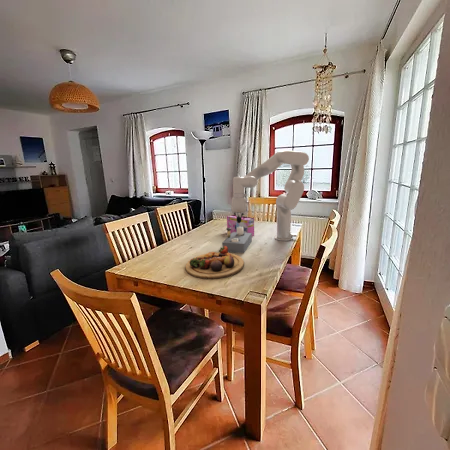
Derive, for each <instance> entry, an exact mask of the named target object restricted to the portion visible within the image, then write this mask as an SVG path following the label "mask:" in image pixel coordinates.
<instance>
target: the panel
mask: <svg viewBox="0 0 450 450" xmlns="http://www.w3.org/2000/svg"><path fill="white" fill-rule="evenodd" d="M230 234H231V237H229V238H228V236H227V237H226V238H225V239H224V240H223V241H222V242H221V244H222V246H221V248H223V246H227V248H228V253H237V254H245V253H246V251H247V249H248V248H249V246H250V245H251V244H252V241H253V239H252V238H253V236H252V233H243V234H244V236H237V232H232V233H230ZM233 238H237V239H238V241H239V242H232V239H233Z"/></svg>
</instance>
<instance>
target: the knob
mask: <svg viewBox="0 0 450 450" xmlns="http://www.w3.org/2000/svg"><path fill="white" fill-rule="evenodd" d="M237 236H244V234H243V227H237Z"/></svg>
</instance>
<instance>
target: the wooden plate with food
mask: <svg viewBox="0 0 450 450" xmlns="http://www.w3.org/2000/svg"><path fill="white" fill-rule="evenodd" d="M244 267H245V261H244V259H243V258H242V257H241V256H240V255H237V254H235V253H232V252H228V248H227V246H223V248H222V247H220V248H219V249H218V252H216V251H209V252H207V253H204V254H201V255H197V256H195V257H193V258H191V259H189V260H188V261H187V263H186V264H185V267H184V268H185V272H186V273H187V274H188V275H189V276H192V277H193V278H196V279H202V280H218V279H224V278H229V277H231V276H234V275H236V274H238V273H239V272H241V271H242V270H243V268H244Z"/></svg>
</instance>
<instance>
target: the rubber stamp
mask: <svg viewBox="0 0 450 450" xmlns="http://www.w3.org/2000/svg"><path fill="white" fill-rule="evenodd" d="M230 230H231V228H227V227H226V231H227V234H226V235H227V237H228V238H229V237H231V233H230Z"/></svg>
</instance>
